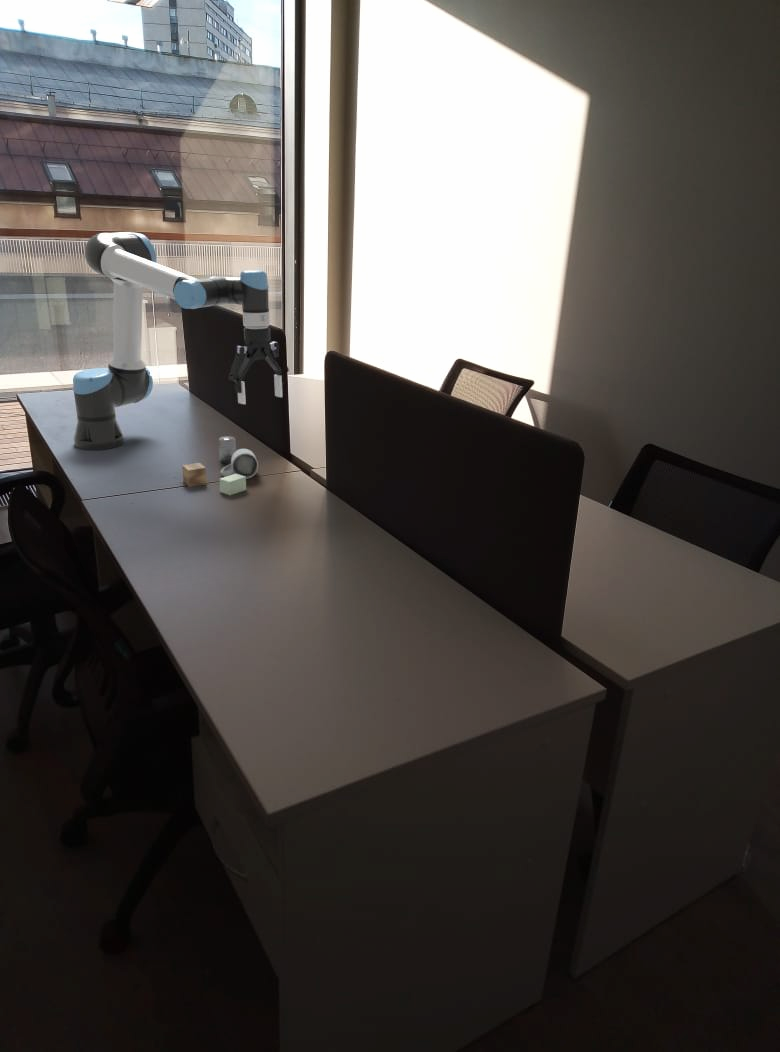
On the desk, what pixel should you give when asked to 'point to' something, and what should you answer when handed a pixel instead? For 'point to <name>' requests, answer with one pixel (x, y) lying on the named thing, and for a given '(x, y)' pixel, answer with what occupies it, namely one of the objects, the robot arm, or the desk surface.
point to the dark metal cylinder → (226, 448)
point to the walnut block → (194, 474)
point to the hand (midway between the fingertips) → (260, 400)
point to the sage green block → (232, 484)
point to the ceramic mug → (242, 464)
